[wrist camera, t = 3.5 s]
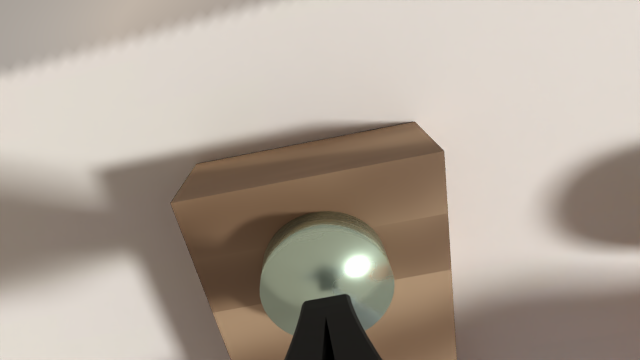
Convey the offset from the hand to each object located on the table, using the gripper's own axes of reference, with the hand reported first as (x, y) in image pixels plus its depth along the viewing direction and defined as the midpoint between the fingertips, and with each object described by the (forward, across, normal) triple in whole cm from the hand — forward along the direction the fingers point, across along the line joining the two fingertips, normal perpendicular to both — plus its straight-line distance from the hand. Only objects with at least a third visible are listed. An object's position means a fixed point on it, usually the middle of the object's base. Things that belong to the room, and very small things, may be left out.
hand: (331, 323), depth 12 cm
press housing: (+6, 0, +5) cm, 8 cm away
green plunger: (+6, 0, 0) cm, 6 cm away
